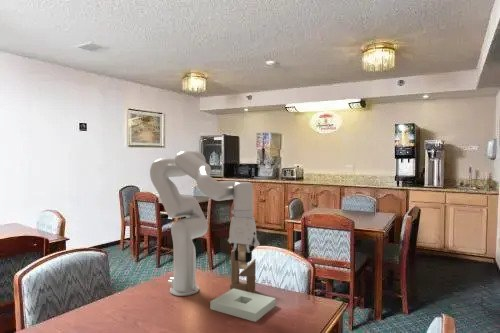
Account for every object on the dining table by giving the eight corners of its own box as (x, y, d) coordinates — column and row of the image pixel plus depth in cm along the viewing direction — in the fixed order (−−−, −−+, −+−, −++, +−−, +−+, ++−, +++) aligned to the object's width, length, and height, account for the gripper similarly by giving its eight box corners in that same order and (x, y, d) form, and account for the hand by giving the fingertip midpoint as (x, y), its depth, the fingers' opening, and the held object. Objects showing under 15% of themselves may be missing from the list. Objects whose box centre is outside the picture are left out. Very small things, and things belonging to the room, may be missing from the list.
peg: (235, 268, 134) (235, 242, 134) (241, 265, 138) (241, 240, 137) (244, 270, 132) (244, 243, 132) (250, 267, 135) (250, 241, 135)
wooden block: (254, 293, 150) (255, 252, 149) (230, 292, 151) (230, 251, 150) (255, 290, 153) (255, 249, 153) (231, 289, 154) (231, 249, 154)
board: (210, 309, 133) (210, 301, 133) (233, 295, 147) (233, 288, 147) (255, 321, 123) (255, 313, 123) (275, 305, 137) (275, 298, 137)
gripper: (220, 213, 136) (219, 260, 136) (257, 217, 127) (257, 266, 127) (230, 211, 142) (230, 255, 142) (266, 214, 133) (266, 261, 134)
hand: (243, 260), depth 135 cm, fingers closed on peg, 4 cm apart
